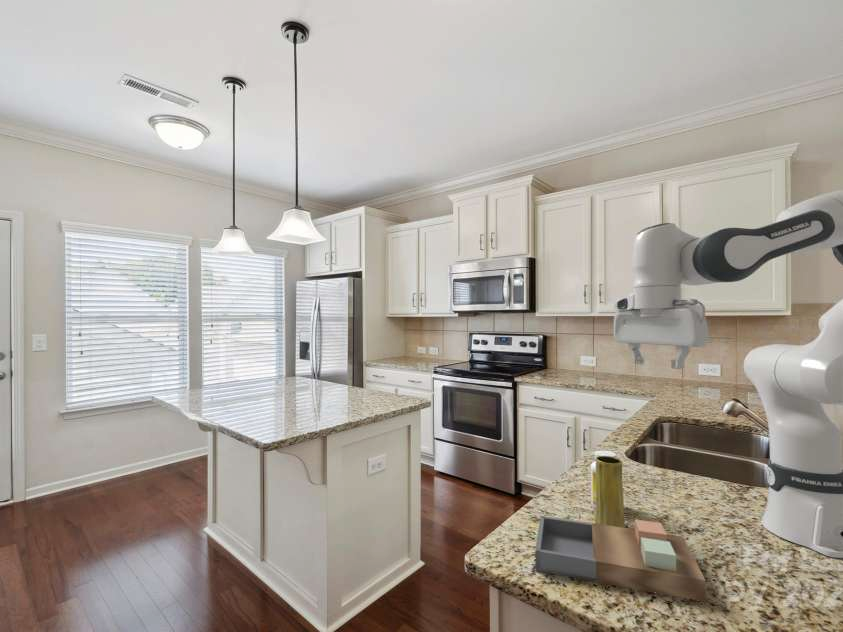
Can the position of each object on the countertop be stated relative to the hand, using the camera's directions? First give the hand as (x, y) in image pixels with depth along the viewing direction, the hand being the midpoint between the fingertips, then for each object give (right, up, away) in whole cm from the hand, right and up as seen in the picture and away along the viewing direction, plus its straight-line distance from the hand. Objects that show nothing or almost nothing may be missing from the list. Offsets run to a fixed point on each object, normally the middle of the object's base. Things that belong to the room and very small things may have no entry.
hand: (657, 366), depth 87 cm
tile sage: (-10, -31, -17) cm, 37 cm away
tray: (-23, -35, -9) cm, 42 cm away
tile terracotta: (-7, -31, -10) cm, 34 cm away
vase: (-9, -35, +3) cm, 36 cm away
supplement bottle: (-6, -35, +11) cm, 37 cm away
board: (-10, -35, -13) cm, 39 cm away
